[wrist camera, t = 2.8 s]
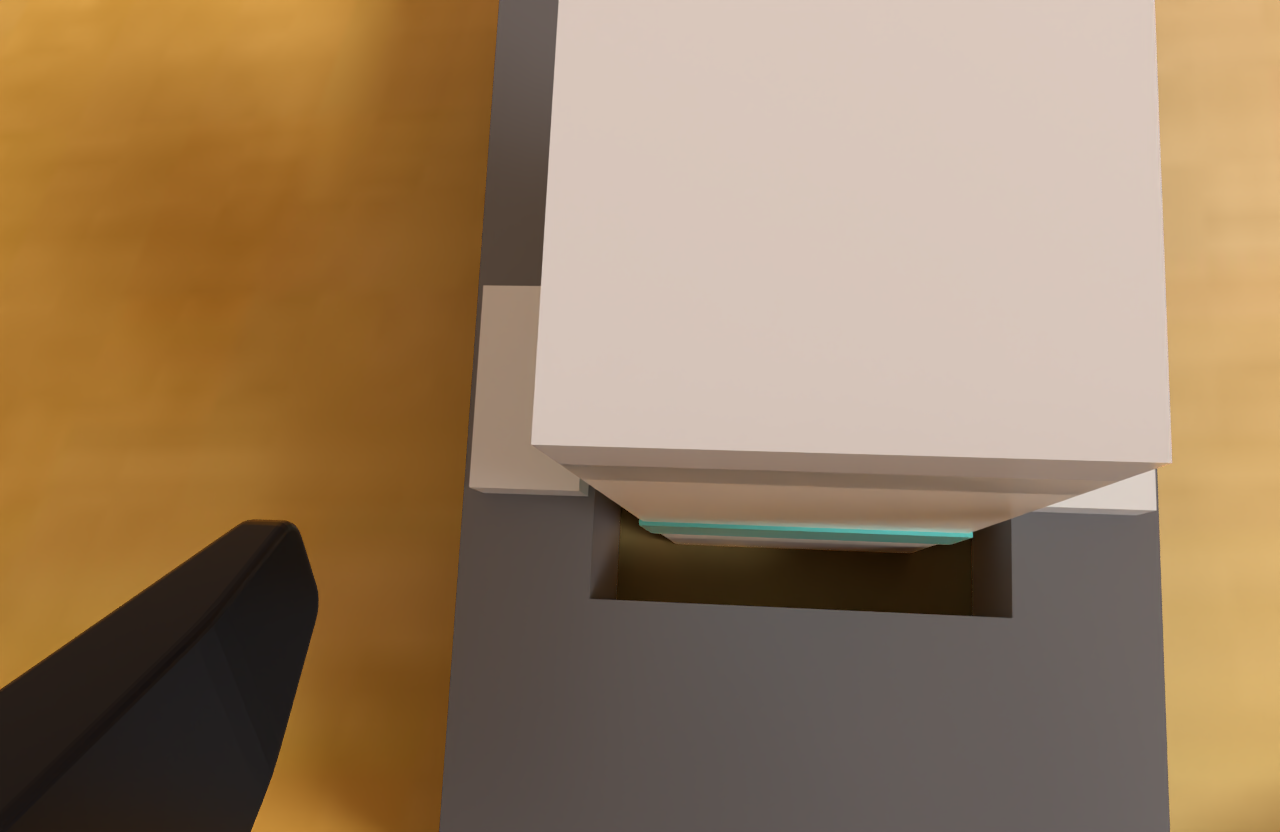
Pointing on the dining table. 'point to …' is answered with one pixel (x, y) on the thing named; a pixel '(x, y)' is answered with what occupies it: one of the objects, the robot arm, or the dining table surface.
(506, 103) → the block
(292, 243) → the dining table surface
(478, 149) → the dining table surface
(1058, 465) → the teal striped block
